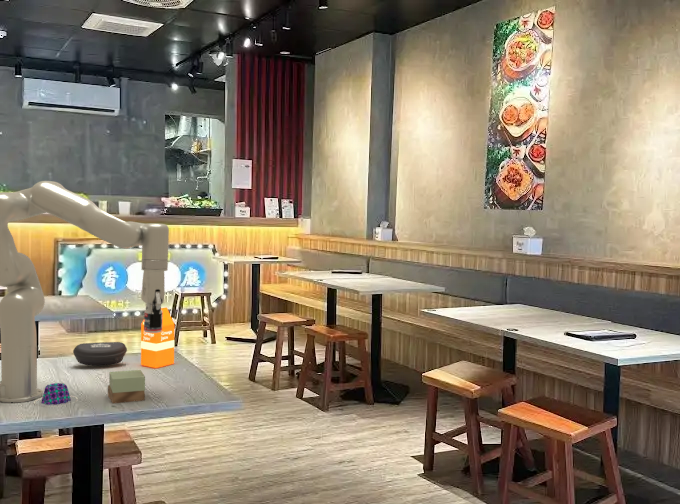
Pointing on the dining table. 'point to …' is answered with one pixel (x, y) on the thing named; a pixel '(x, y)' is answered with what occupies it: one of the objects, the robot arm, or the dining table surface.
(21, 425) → the dining table surface
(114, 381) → the tower top slab
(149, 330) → the pill bottle
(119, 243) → the robot arm
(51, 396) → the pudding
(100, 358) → the glasses case
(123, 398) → the tower base slab
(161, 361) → the orange juice
